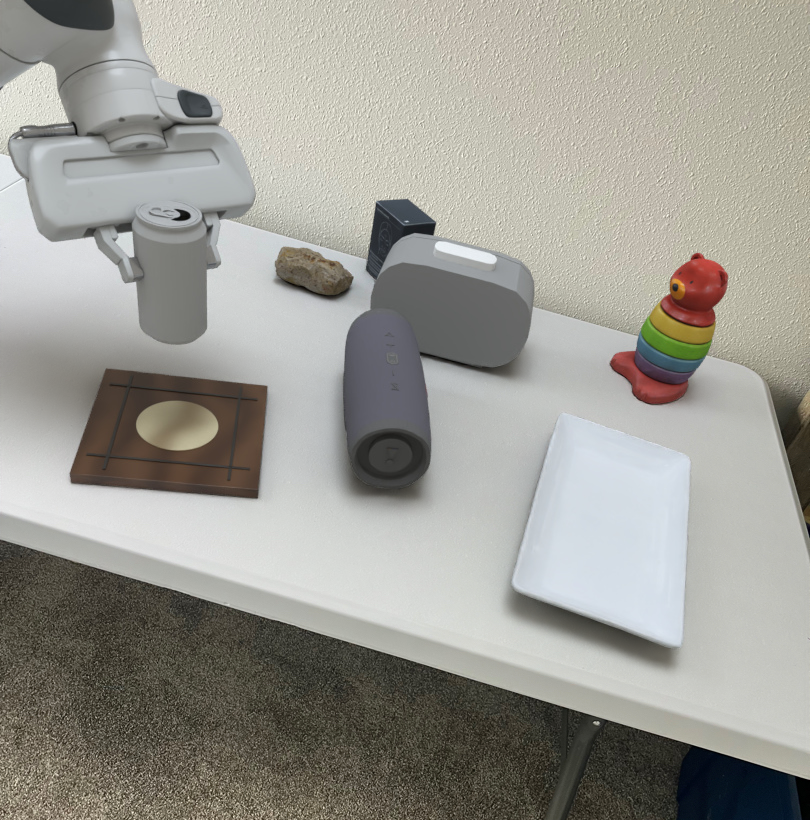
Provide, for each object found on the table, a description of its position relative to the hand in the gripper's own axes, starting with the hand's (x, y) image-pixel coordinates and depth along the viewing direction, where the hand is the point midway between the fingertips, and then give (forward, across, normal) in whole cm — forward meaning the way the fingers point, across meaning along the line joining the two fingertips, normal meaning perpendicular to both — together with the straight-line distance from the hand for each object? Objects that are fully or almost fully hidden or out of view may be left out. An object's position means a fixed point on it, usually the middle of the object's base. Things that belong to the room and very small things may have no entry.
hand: (175, 273), depth 72 cm
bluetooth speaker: (+20, +20, +6) cm, 29 cm away
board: (+13, -1, +12) cm, 18 cm away
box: (0, +44, +26) cm, 51 cm away
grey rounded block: (+12, +40, +14) cm, 44 cm away
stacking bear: (+25, +63, +1) cm, 68 cm away
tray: (+38, +32, -12) cm, 51 cm away
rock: (-3, +32, +28) cm, 42 cm away
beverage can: (+4, 0, +5) cm, 7 cm away
